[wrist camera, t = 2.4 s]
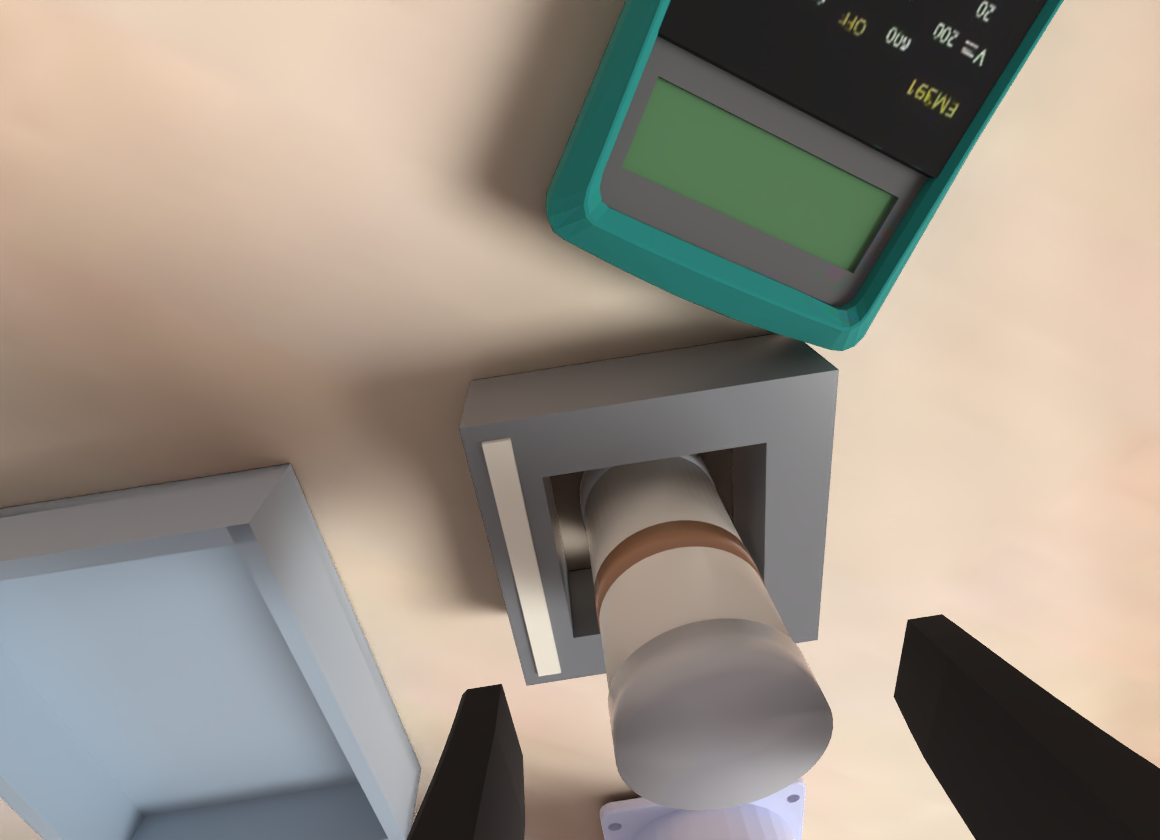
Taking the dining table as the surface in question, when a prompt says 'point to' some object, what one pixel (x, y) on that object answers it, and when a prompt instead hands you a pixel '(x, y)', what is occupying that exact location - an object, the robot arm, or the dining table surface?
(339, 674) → the parts tray
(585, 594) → the fuse block
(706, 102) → the digital multimeter
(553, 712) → the dining table surface
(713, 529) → the cylinder
